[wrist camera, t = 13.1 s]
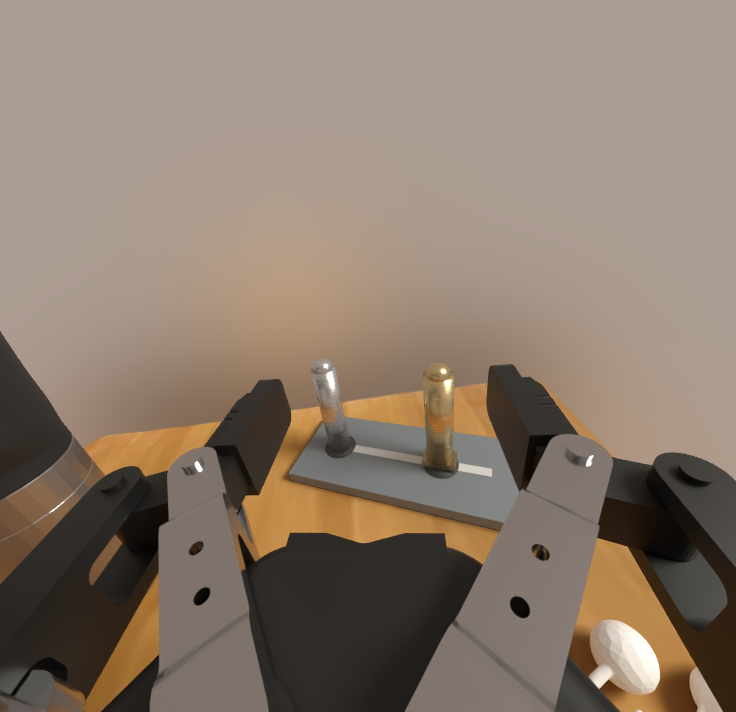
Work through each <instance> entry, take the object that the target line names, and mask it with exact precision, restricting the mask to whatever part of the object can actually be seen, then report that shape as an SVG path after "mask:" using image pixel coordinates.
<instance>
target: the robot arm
mask: <svg viewBox="0 0 736 712" xmlns="http://www.w3.org/2000/svg"><path fill="white" fill-rule="evenodd" d="M487 411H488V415H489V418H490V421H491V423H492V426H493V428H494V431H495V433H496V436H497V438H498V441H499V443H500V446H501V448H502V451H503V453H504V456H505V458H506V460H507V463H508V465H509V468H510V470H511V473H512V475H513V478H514V480H515V483H516V485H517V488H518V490H519V495H518V496H517V498H516V500H515V502H514V504H513V506H512V508H511V510H510V512H509V514H508V516H507V518H506V520H505V522H504V524H503V526H502V528H501V530H500V532H499V534H498V536H497V538H496V540H495V542H494V544H493V546H492V548H491V550H490V552H489V554H488V556H487V558H486V560H485V562H484V564H483V565H482V564H481V563H480V562H478V561H477V560H475V559H474V558H472V557H470V556H468V555H467V554H465V553H463V552H460V551H458V550H455V549H452V548H449V547H446V540H445V533H404V534H400V535H396V536H393V537H389V538H385V539H381V540H377V541H374V542H370V543H358V542H355V541H352V540H348V539H345V538H341V537H338V536H335V535H331V534H328V533H290V535H289V538H288V541H287V545H286V546H285V547H282V548H279V549H277V550H274V551H272V552H270V553H268V554H267V555H265V556H263V557H262V558H260V556H259V553H258V551H257V547H256V544H255V541H254V538H253V534H252V531H251V528H250V524H249V521H248V518H247V515H246V511H245V508H244V506H243V504H242V502H243V500H244V498H245V496H246V495H259V494H260V492H261V489H262V487H263V485H264V483H265V480H266V478H267V476H268V473H269V471H270V469H271V467H272V464H273V462H274V460H275V458H276V455H277V453H278V451H279V448H280V446H281V444H282V442H283V439H284V437H285V435H286V432H287V430H288V428H289V426H290V422H291V410H290V407H289V403H288V400H287V397H286V394H285V391H284V388H283V384H282V382H281V381H280V380H279V379H271V380H260V381H258V383H257V384H256V385H255V387H254V388H253V390H252V391H251V393H247V394H246V395H245V396H243V397H242V398H241V399H239V400H238V401H237V402H236V403H235V405H234V406H233V407H232V409H231V410H230V413H228V414H227V416H226V417H225V418H224V421H222V422H221V424H220V425H219V426H218V428H217V429H216V431H215V432H214V433H213V435H212V436H211V437H210V439H209V440H208V442H207V443H206V444H205V446H204V447H200V448H196V449H193V450H191V451H189V452H187V453H185V454H183V455H182V456H181V457H179V458H178V459H177V460H176V461H175V462H174V463H173V464H172V465H171V466H170V468H169V470H168V471H164V472H161V473H157V474H153V475H150V476H146V477H145V475H144V474H143V473H142V471H141V470H140V469H139V468H138V467H135V466H129V467H124V468H121V469H118V470H116V471H113V472H112V473H110V474H108V475H106V476H105V475H104V473H103V472H102V471H101V470H100V468H99V467H98V466H97V465H96V463H95V462H94V461H93V460H92V458H91V457H90V456H89V455H88V454H87V452H86V451H85V450H84V449H83V447H82V446H81V445H80V444H79V442H78V441H77V440H76V439H75V437H74V436H73V435H72V434H71V432H70V431H69V430H68V429H67V427H66V426H65V425H64V423H63V422H62V421H61V419H60V418H59V416H58V415H57V413H56V412H55V410H54V408H53V406H52V405H51V403H50V401H49V400H48V398H47V397H46V396H45V394H44V393H43V391H42V390H41V389H40V388H39V386H38V385H37V384H36V382H35V381H34V380H33V378H32V377H31V376H30V374H29V373H28V372H27V370H26V369H25V368H24V366H23V364H22V363H21V362H20V360H19V359H18V358H17V356H16V354H15V353H14V351H13V350H12V348H11V347H10V345H9V344H8V342H7V341H6V339H5V338H4V336H3V335H2V333H1V332H0V712H84V711H85V701H86V699H87V697H88V695H89V694H90V692H91V690H92V688H93V686H94V685H95V683H96V681H97V679H98V678H99V676H100V674H101V672H102V670H103V669H104V667H105V665H106V663H107V662H108V660H109V658H110V656H111V654H112V653H113V651H114V649H115V647H116V646H117V644H118V642H119V640H120V638H121V637H122V635H123V633H124V631H125V630H126V628H127V626H128V624H129V622H130V621H131V619H132V617H133V615H134V614H135V612H136V610H137V608H138V607H139V605H140V603H141V601H142V599H143V598H144V596H145V594H146V592H147V591H148V589H149V587H150V586H151V584H152V582H153V581H154V579H155V577H156V575H157V573H158V571H159V655H158V656H157V657H156V658H155V659H154V660H153V661H152V662H151V663H150V664H149V665H148V666H147V667H146V668H145V669H144V670H143V671H142V672H141V673H140V674H139V675H138V676H137V677H136V678H135V679H134V680H133V681H132V682H131V683H130V684H129V685H128V686H127V687H126V688H125V689H124V690H123V691H121V692H120V693H119V694H118V695H117V696H116V697H115V698H114V699H113V700H112V701H111V702H110V703H109V704H108V705H107V706H106V707H105V708H104V709H103V710H102V711H101V712H620V711H619V710H618V709H617V708H616V706H615V705H614V704H613V703H612V702H611V701H610V700H609V699H608V698H607V697H606V696H605V694H604V693H603V692H602V691H601V690H600V689H599V688H598V687H597V686H596V685H595V684H594V682H593V681H592V680H591V679H590V678H589V677H588V676H587V675H586V674H585V673H584V672H583V670H582V669H581V668H580V667H579V666H578V665H577V664H576V663H575V662H574V661H573V660H572V658H571V657H570V656H569V655H568V653H569V649H570V645H571V641H572V637H573V633H574V629H575V625H576V621H577V617H578V613H579V609H580V605H581V601H582V597H583V593H584V589H585V585H586V581H587V576H588V572H589V568H590V564H591V560H592V556H593V552H594V548H595V544H596V540H597V538H600V539H603V540H607V541H610V542H614V543H617V544H621V545H624V546H628V548H629V550H630V552H631V553H632V555H633V557H634V559H635V560H636V562H637V564H638V565H639V567H640V569H641V571H642V572H643V574H644V576H645V578H646V579H647V581H648V583H649V585H650V586H651V588H652V590H653V591H654V593H655V595H656V597H657V598H658V600H659V602H660V604H661V605H662V607H663V609H664V611H665V612H666V614H667V616H668V617H669V619H670V621H671V623H672V624H673V626H674V628H675V630H676V631H677V633H678V635H679V637H680V638H681V640H682V642H683V644H684V645H685V647H686V649H687V650H688V652H689V654H690V656H691V657H692V659H693V661H694V663H695V664H696V666H697V668H698V670H699V671H700V673H701V675H702V676H703V678H704V680H705V682H706V683H707V685H708V687H709V689H710V690H711V692H712V694H713V696H714V697H715V699H716V701H717V702H718V704H719V706H720V708H721V709H722V711H723V712H736V481H735V480H734V479H733V478H732V477H731V476H730V475H729V474H727V473H726V472H725V471H723V470H722V469H720V468H719V467H717V466H715V465H714V464H711V463H710V462H708V461H705V460H703V459H700V458H698V457H694V456H691V455H687V454H682V453H664V454H661V455H659V456H657V457H656V459H655V460H654V462H653V465H647V464H642V463H637V462H632V461H627V460H622V459H617V458H614V457H611V455H610V454H609V452H608V451H607V450H606V449H605V448H604V447H603V446H601V445H600V444H598V443H597V442H595V441H593V440H591V439H589V438H586V437H583V436H580V435H578V433H577V432H576V430H575V429H574V428H573V426H572V425H571V424H570V422H569V421H568V420H567V418H566V417H565V415H564V414H563V413H562V411H561V410H560V409H559V407H558V406H556V403H555V402H554V400H553V399H552V398H551V397H550V395H549V394H548V392H547V391H546V389H545V388H544V387H543V385H541V384H540V383H538V382H537V381H535V380H534V379H532V378H531V377H521V375H520V374H519V372H518V371H517V369H516V368H515V366H514V365H512V364H509V365H493V366H490V368H489V375H488V387H487Z"/></svg>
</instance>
